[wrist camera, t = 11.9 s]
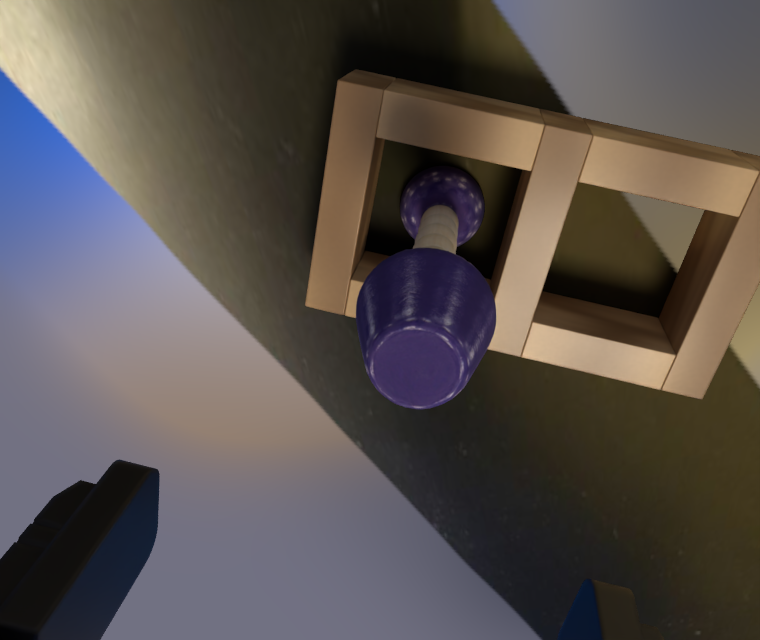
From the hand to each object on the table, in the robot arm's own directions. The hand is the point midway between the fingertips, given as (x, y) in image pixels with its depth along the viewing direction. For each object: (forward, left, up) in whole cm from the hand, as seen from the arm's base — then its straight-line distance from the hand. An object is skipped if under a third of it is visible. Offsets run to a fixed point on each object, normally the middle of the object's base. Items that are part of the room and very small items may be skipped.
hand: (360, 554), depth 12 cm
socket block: (+4, -1, -24) cm, 24 cm away
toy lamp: (0, 0, -24) cm, 24 cm away
